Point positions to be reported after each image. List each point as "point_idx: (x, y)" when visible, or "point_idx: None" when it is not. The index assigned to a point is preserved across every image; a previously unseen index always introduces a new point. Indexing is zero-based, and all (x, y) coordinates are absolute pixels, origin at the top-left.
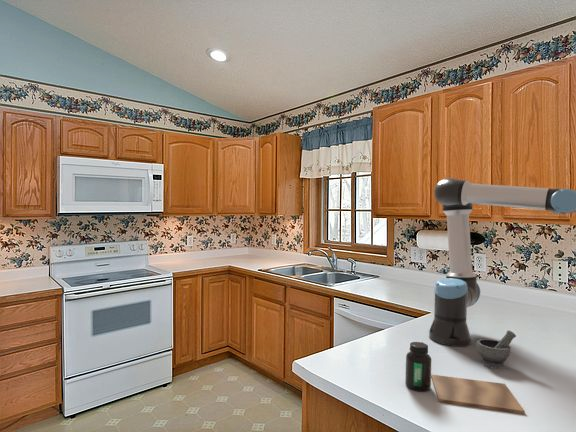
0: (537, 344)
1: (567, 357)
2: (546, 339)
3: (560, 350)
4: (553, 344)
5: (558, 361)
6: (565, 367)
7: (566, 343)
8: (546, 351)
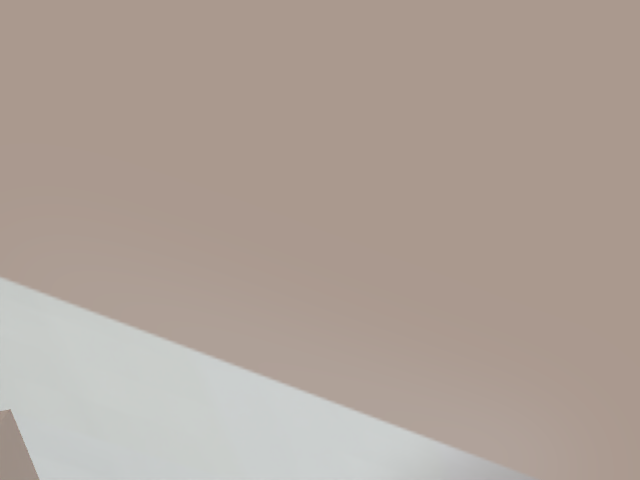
0: (134, 476)
1: (296, 404)
2: (12, 399)
3: (193, 397)
4: (97, 395)
5: (370, 466)
6: (441, 465)
7: (44, 317)
8: (238, 470)
